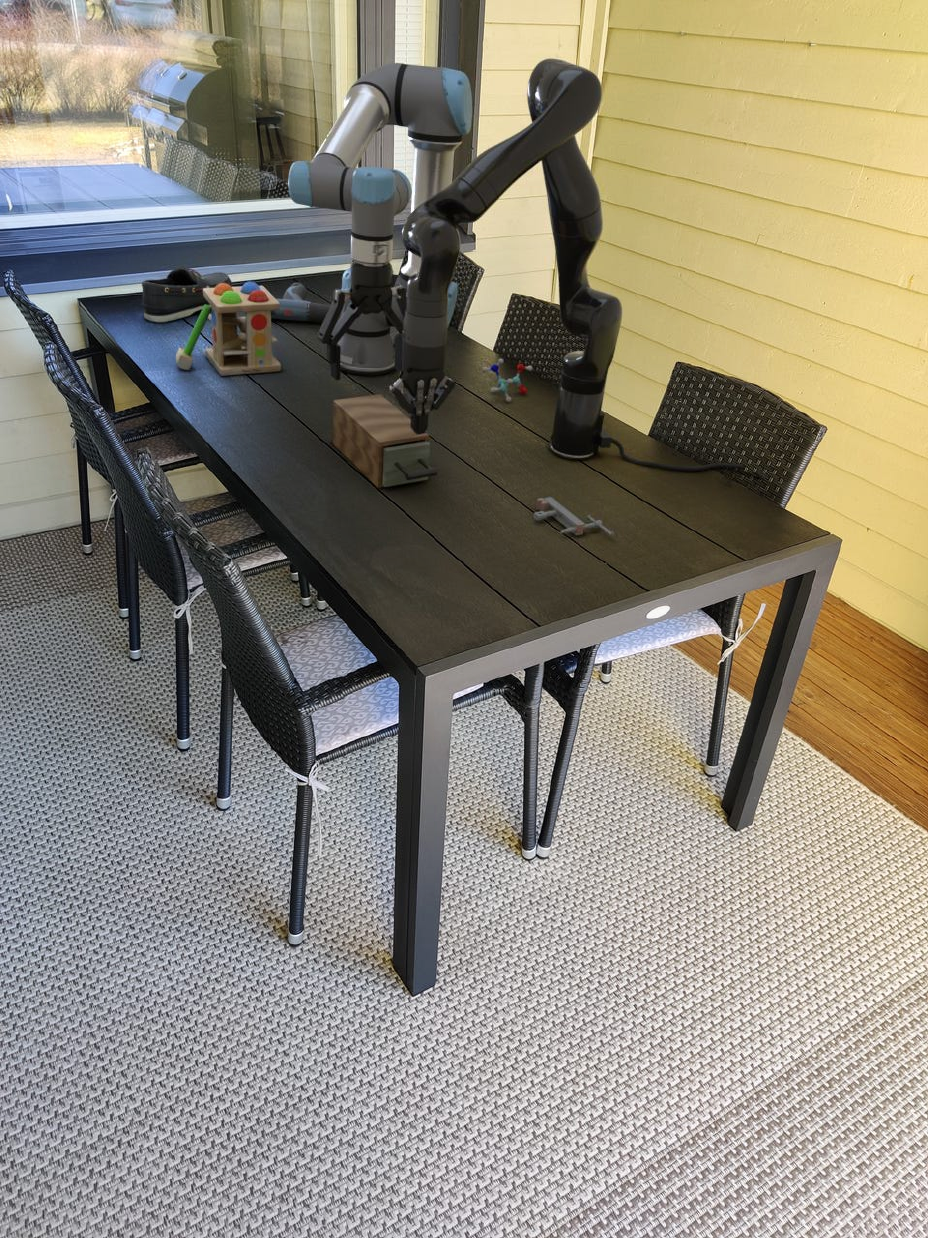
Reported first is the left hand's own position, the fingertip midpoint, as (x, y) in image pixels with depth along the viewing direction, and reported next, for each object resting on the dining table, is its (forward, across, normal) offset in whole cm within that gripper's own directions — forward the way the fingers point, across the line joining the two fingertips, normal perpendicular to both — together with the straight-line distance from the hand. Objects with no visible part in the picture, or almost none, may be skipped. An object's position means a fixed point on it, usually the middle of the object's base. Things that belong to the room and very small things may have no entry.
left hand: (367, 374), depth 190 cm
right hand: (+3, 0, -21) cm, 22 cm away
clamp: (+16, +21, -42) cm, 50 cm away
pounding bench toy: (+16, -11, +53) cm, 56 cm away
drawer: (+15, 0, -11) cm, 19 cm away
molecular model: (+16, +43, +16) cm, 49 cm away
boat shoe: (+15, -6, +97) cm, 99 cm away
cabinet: (+16, 0, -6) cm, 17 cm away
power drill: (+15, +22, +84) cm, 89 cm away
